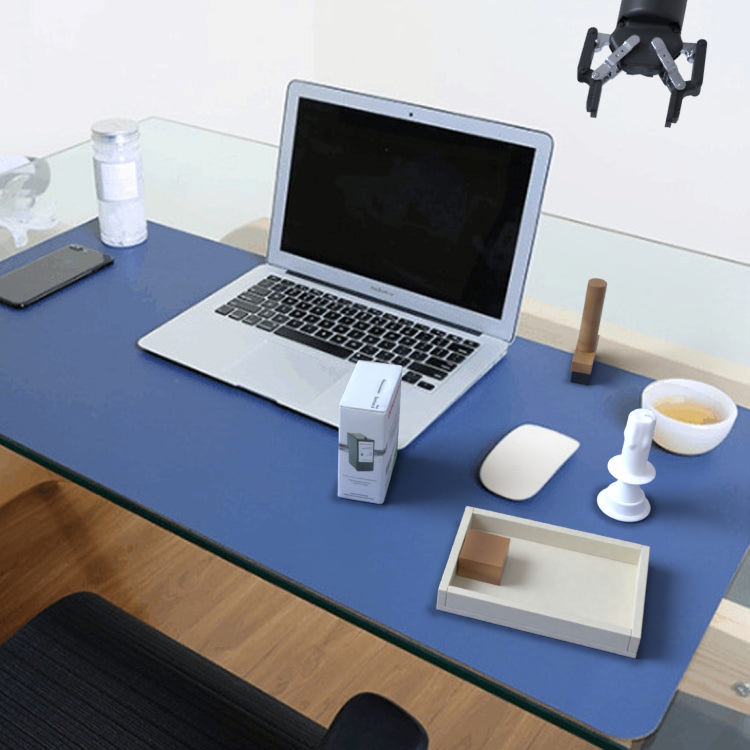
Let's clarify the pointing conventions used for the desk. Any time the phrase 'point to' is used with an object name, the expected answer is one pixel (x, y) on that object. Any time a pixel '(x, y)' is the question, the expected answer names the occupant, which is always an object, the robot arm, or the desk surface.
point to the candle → (631, 471)
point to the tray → (554, 583)
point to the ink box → (369, 431)
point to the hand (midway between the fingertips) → (630, 119)
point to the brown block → (483, 557)
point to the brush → (588, 331)
